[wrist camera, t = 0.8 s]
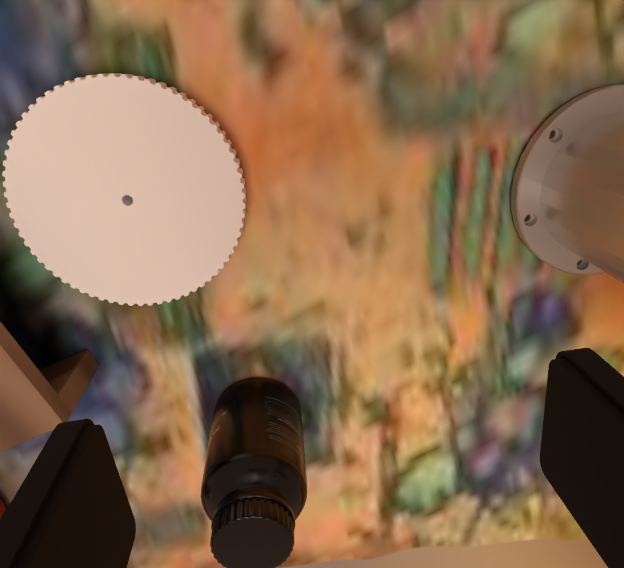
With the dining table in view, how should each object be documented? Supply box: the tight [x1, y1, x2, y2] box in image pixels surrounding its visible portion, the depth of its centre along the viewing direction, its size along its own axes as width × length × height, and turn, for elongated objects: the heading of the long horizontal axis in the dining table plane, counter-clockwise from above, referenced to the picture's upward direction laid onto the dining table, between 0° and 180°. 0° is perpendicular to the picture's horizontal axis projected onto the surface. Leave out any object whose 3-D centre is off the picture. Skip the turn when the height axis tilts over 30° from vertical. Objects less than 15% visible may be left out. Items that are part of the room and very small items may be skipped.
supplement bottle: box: [201, 380, 307, 568], centre depth 34 cm, size 7×7×12 cm
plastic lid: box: [2, 73, 246, 306], centre depth 31 cm, size 14×14×2 cm
